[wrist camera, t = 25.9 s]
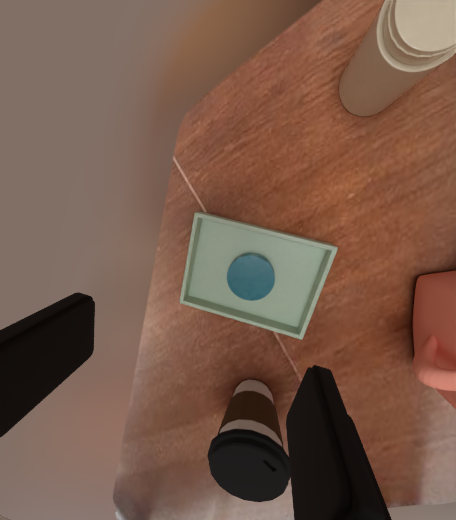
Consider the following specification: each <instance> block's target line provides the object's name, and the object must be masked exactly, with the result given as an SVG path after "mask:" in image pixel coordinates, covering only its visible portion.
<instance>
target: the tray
mask: <svg viewBox="0 0 456 520" xmlns="http://www.w3.org/2000/svg"><path fill="white" fill-rule="evenodd" d="M337 249H338V247H336V246H335V245H333V244H331V243H327V242H323V241H319V240H315V239H311V238H307V237H302V236H298V235H294V234H290V233H286V232H282V231H278V230H274V229H270V228H266V227H262V226H258V225H254V224H250V223H246V222H242V221H238V220H234V219H230V218H226V217H221V216H217V215H213V214H209V213H205V212H201V211H199V212H195V214H194V220H193V226H192V231H191V237H190V243H189V249H188V255H187V261H186V266H185V272H184V278H183V284H182V290H181V296H180V302H179V303H182V304H185V305H188V306H192V307H195V308H198V309H202V310H205V311H208V312H212V313H215V314H218V315H222V316H225V317H228V318H232V319H235V320H238V321H242V322H245V323H248V324H252V325H255V326H258V327H262V328H265V329H268V330H272V331H275V332H278V333H282V334H285V335H288V336H292V337H295V338H298V339H303V336H304V334H305V331H306V328H307V326H308V323H309V321H310V318H311V316H312V313H313V311H314V308H315V306H316V303H317V300H318V298H319V295H320V293H321V290H322V288H323V285H324V283H325V280H326V277H327V275H328V272H329V270H330V267H331V265H332V262H333V260H334V257H335V255H336V252H337ZM244 253H258V254H260V255H263V256H264V257H266V258H267V259H268V260H269V261H270V263H271V264H272V266H273V269H274V275H275V282H274V283H275V284H274V286H273V288H272V290H271V292H270V293H269V294H268V295H267V296H265V297H264V298H262V299H259V300H254V301H249V300H244V299H241V298H239V297H238V296H236V295H235V294H234V293H233V292H232V291H231V289H230V288H229V285H228V282H227V272H228V269H229V267H230V265H231V264H232V262H233V261H234V259H235V258H237V257H238V256H240V255H242V254H244Z"/></svg>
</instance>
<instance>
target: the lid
mask: <svg viewBox="0 0 456 520" xmlns="http://www.w3.org/2000/svg"><path fill="white" fill-rule="evenodd" d="M227 282H228V285H229V288H230V289H231V291H232V292H233V293H234V294H235V295H236V296H238V297H239V298H241V299H244V300H249V301H254V300H259V299H262V298H264V297H265V296H267V295H268V294H269V293H270V292H271V290H272V288H273V286H274V284H275V283H274V282H275V275H274V269H273V266H272V264H271V263H270V261H269V260H268V259H267V258H266V257H264V256H263V255H260V254H258V253H244V254H242V255H240V256H238V257H237V258H235V259H234V261H233V262H232V264H231V265H230V267H229V269H228V272H227Z"/></svg>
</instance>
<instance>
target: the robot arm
mask: <svg viewBox="0 0 456 520" xmlns="http://www.w3.org/2000/svg"><path fill="white" fill-rule="evenodd" d="M94 316H95V302H94V301H93V298H92V297H91V296H88V295H85V294H82V293H74V294H73V295H70V296H68V297H66V298H64V299H62V300H60V301H58V302H56V303H54V304H52V305H50V306H48V307H46V308H44V309H42V310H40V311H38V312H36V313H34V314H32V315H30V316H28V317H26V318H24V319H22V320H20V321H18V322H16V323H14V324H12V325H10V326H8V327H6V328H4V329H2V330H0V437H2V436H3V435H4V434H6V433H7V432H8V431H9V430H10V429H11V428H12V427H13V426H14V425H15V424H17V423H18V422H19V421H20V420H21V419H22V418H23V417H24V416H25V415H27V414H28V413H29V412H30V411H31V410H32V409H33V408H34V407H35V406H36V405H37V404H39V403H40V402H41V401H42V400H43V399H44V398H45V397H47V396H48V395H49V394H50V393H51V392H52V391H53V390H54V389H55V388H56V387H58V386H59V385H60V384H61V383H62V382H63V381H64V380H65V379H66V378H67V377H69V376H70V375H71V374H72V373H73V372H74V371H75V370H76V369H77V368H79V367H80V366H81V365H82V364H83V363H84V362H85V361H86V360H88V358H89V357H90V356H91V355H92V353H93V350H94ZM286 428H287V440H288V451H289V462H290V474H291V485H292V497H293V508H294V519H295V520H391V517H390V514H389V512H388V509H387V507H386V504H385V502H384V499H383V496H382V494H381V491H380V489H379V486H378V484H377V481H376V479H375V476H374V473H373V471H372V468H371V466H370V463H369V461H368V458H367V455H366V453H365V450H364V448H363V445H362V443H361V440H360V437H359V435H358V432H357V430H356V427H355V425H354V422H353V420H352V418H351V417H350V416H349V415H348V414H347V412H346V409H345V406H344V404H343V401H342V398H341V396H340V393H339V390H338V388H337V385H336V382H335V380H334V377H333V374H332V372H331V370H329V369H326V368H323V367H320V366H316V365H314V366H313V367H312V368H310V367H309V368H308V369H307V371H306V373H305V375H304V378H303V380H302V382H301V385H300V387H299V389H298V391H297V394H296V396H295V398H294V401H293V403H292V405H291V408H290V410H289V412H288V415H287V419H286ZM0 520H9V519H7V518H5V517H3V516H1V515H0Z"/></svg>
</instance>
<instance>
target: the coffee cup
mask: <svg viewBox="0 0 456 520" xmlns="http://www.w3.org/2000/svg"><path fill="white" fill-rule="evenodd" d="M208 460H209V466H210V470H211V474H212V476H213V478H214V479H215V480H216V482H217V483H218V484H219V486H220V487H222V488H223V489H224V490H226V491H227V492H228V493H230V494H231V495H234V496H236V497H239V498H241V499H243V500H248V501H255V502H263V501H270V500H273V499H275V498H277V497H278V496H280V495H282V494H283V493H284V491H285V489H286V487H287V485H288V481H289V479H290V477H291V474H290V462H289V457H288V455H287V454H286V452H285V451H284V449H283V441H282V436H281V432H280V427H279V422H278V417H277V412H276V407H275V406H274V402H273V397H272V394H271V392H270V391H269V389H268V387H267V386H266V385H265V384H263V383H262V382H260V381H257V380H245V381H242V382H241V383H240V384H239V385H238V386H237V387H236V389H235V392H234V395H233V397H232V398H231V400H230V402H229V405H228V408H227V410H226V413H225V416H224V419H223V421H222V424H221V427H220V429H219V432H218V435H217V436H216V437H215V438H214V439H213V440H212V442H211V445H210V448H209V451H208Z"/></svg>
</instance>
